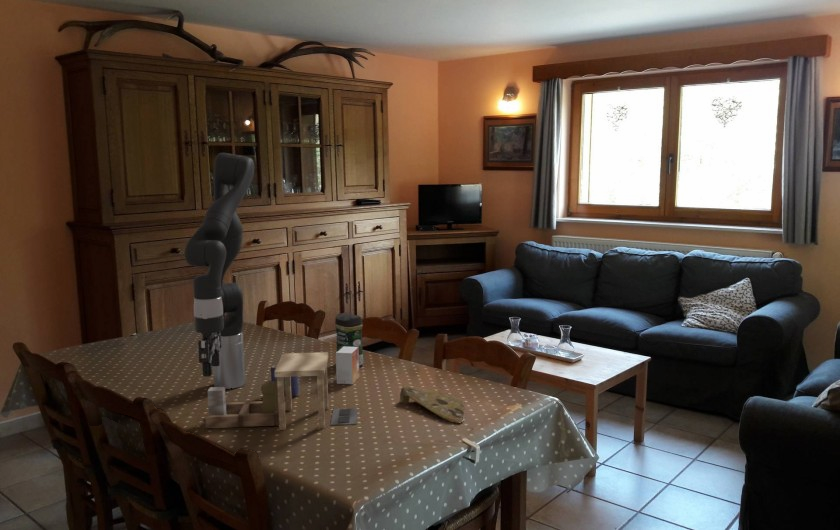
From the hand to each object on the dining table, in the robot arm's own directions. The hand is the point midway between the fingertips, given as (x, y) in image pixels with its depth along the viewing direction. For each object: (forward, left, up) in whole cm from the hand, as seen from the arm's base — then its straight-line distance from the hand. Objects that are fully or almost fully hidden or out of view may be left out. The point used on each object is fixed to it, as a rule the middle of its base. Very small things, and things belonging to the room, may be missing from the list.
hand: (211, 370), depth 183 cm
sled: (+9, 0, -14) cm, 17 cm away
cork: (+16, 0, -15) cm, 22 cm away
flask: (+17, +20, -15) cm, 30 cm away
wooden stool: (+29, 0, -15) cm, 32 cm away
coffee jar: (+36, +49, -15) cm, 62 cm away
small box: (+36, +32, -15) cm, 50 cm away
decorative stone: (+65, +4, -15) cm, 66 cm away
